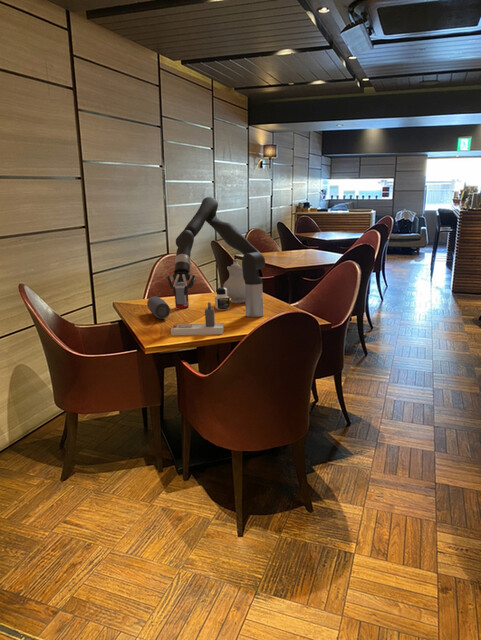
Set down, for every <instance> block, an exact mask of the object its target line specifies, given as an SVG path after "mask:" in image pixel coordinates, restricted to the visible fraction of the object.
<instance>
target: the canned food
mask: <svg viewBox="0 0 481 640" xmlns="http://www.w3.org/2000/svg"><path fill="white" fill-rule="evenodd" d="M174 301H175V302H174V303H175V308H177V309H176V310H185V309H188V308H189V306H190V305H189V303H190V302H189V293H188V294H186V304H177V301H176V296H175V295H174Z"/></svg>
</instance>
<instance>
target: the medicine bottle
mask: <svg viewBox="0 0 481 640" xmlns="http://www.w3.org/2000/svg"><path fill="white" fill-rule="evenodd" d="M215 291H216V295H214V306H215V308H214V309H216V310H217V311H224V310H225V311H226V310H230V309H231V302H230V301H231V298H230V297H229V296H227V288H223V287H217V288H216V290H215Z"/></svg>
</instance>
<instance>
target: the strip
mask: <svg viewBox="0 0 481 640" xmlns="http://www.w3.org/2000/svg"><path fill="white" fill-rule="evenodd" d="M215 316H216V315H215V308H214V307H212V302H207V308H206V307H205V309H204V318H205V323H182V324H181V323H180V324H177V323H176V324H173V325H172V326H171V329H170V336H174V337H175V336H199V335H201V336H202V335H203V336H204V335H205V336H206V335H223V334H224V331H225V327H224V326H225V323H224V322H215V321H216V320H215Z"/></svg>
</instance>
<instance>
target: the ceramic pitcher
mask: <svg viewBox="0 0 481 640" xmlns="http://www.w3.org/2000/svg"><path fill="white" fill-rule="evenodd" d="M232 262H233V264H231V265H230V266H228V265H227V268H226V269H227V271H228V273H229V276H228V279H227V280H226V281H225V282H224V283H223V287H222V288H227V296H229V297H230V303H232V304H241V303H245V281H244V278H243V271H242V265H239V262H238V260H237V259H233V261H232Z"/></svg>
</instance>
